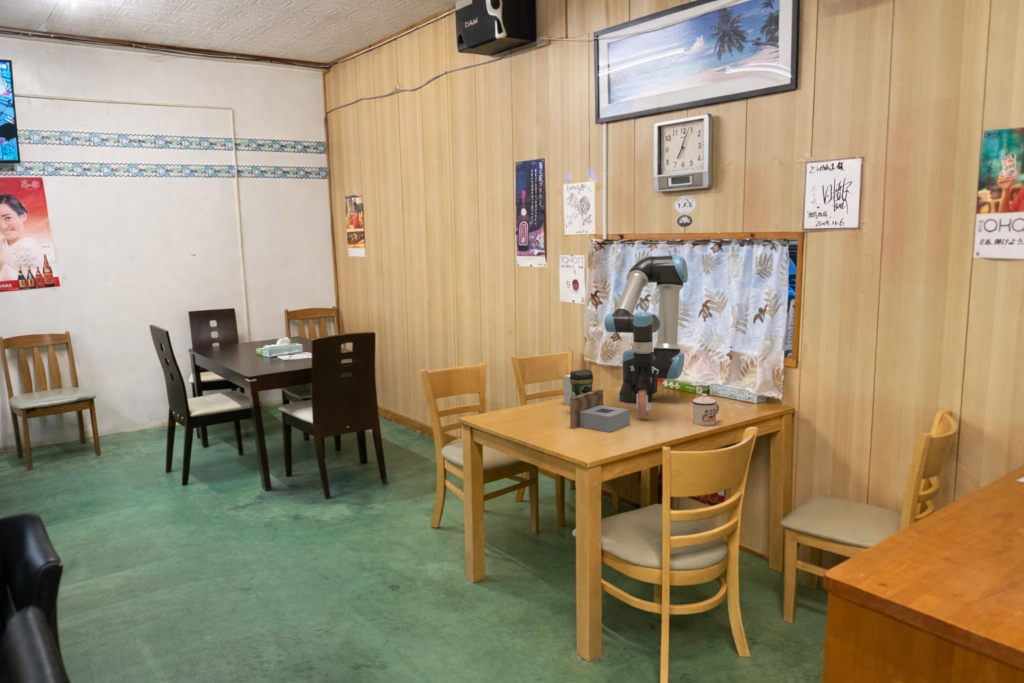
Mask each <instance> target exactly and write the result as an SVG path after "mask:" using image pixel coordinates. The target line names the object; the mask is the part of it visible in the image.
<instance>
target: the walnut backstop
mask: <svg viewBox="0 0 1024 683" xmlns="http://www.w3.org/2000/svg"><path fill="white" fill-rule="evenodd" d="M599 405H602V406H604V389H601V388H600V389H599V388H598V389H595V390H592V391H591V392H588V393H585V394H581V395H578V396H575V397H572V398H570V406H569V412H570V413H569V414H570V415H569V416H570V417H569V418H570V419H569V420H570V422H569V424H570V429H578V428H581V427H580V412H581V411H584V410H587V409H590V408H593V407H596V406H599Z"/></svg>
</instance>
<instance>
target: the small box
mask: <svg viewBox="0 0 1024 683" xmlns="http://www.w3.org/2000/svg"><path fill="white" fill-rule="evenodd" d="M562 379H563V405H566V406H569V407H570V398H571V395H572V386H571V382H570V374H567V375H563V378H562Z"/></svg>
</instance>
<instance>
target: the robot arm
mask: <svg viewBox="0 0 1024 683" xmlns="http://www.w3.org/2000/svg"><path fill="white" fill-rule="evenodd" d="M688 271H689V270H688V265H687V262H686V260H685V258H684V257H683V256H681V255H678V256H677V255H663V256H661V255H658V256H654V255H650V256H647V257H644V258H642V259H640V260H638V261H637V262H635V264H634V265H633V266H631V268H630V269H629V271H628V273H627V275H626V281H627V282H626V284H625V286H624V288H623V291H622V294H621V296H620V297H619V300H618V303H617V305H616V307H615V310H614V312H613V313H609V314H606V316H605V317H604V329H605V331H607V333H608V332H609V333H615V334H616V333H618V334H619V333H623V334H624V333H625V334H626V333H628V334H633V335H632V336H633V337H632V338H633V339H632V340H633V345H632V346H633V348H631V349H627V350H625V351H623V354H622V360H621V361H622V385H621V388H620V391H619V393H618V394H619V395H618V400H619V401H621V402H623V403H629V404H636V406H635V407H636V410H637V411H639V392H638V391H639V390H647V395H646V411H649V412H650V411H651V410H652V403H653V401H654V395H655V394H657V393H658V383H659V382H658V381H659V380H658V379H664V380H665V379H666V380H676V379H679V378H680V376H681V375H682V372H683V370H684V365H685V354H684V353H683V352H681V347H680V346H679V345H678V336H679V335H678V334H679V333H678V332H679V313H680V310H679V308H680V293H681V292H680V291H681V290H682V289H683V288H684V284H686V283H687V282H688V277H689V274H688V273H689V272H688ZM651 283H655V284H656V288H657V289H658V290H659V294H658V295H659V297H658V298H659V299H658V315H657V314H655V313H650V312H645V311H643V312H642V311H641V312H636V313H634V312H635V310H636V307H637V304H638V301H639V300H640V297H641V295H642V292H643V290H644V288H645V287H646V286H648V284H651ZM656 332H657V343H656V344H655V346H653V345H654V339H653V337H654V333H656Z"/></svg>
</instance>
